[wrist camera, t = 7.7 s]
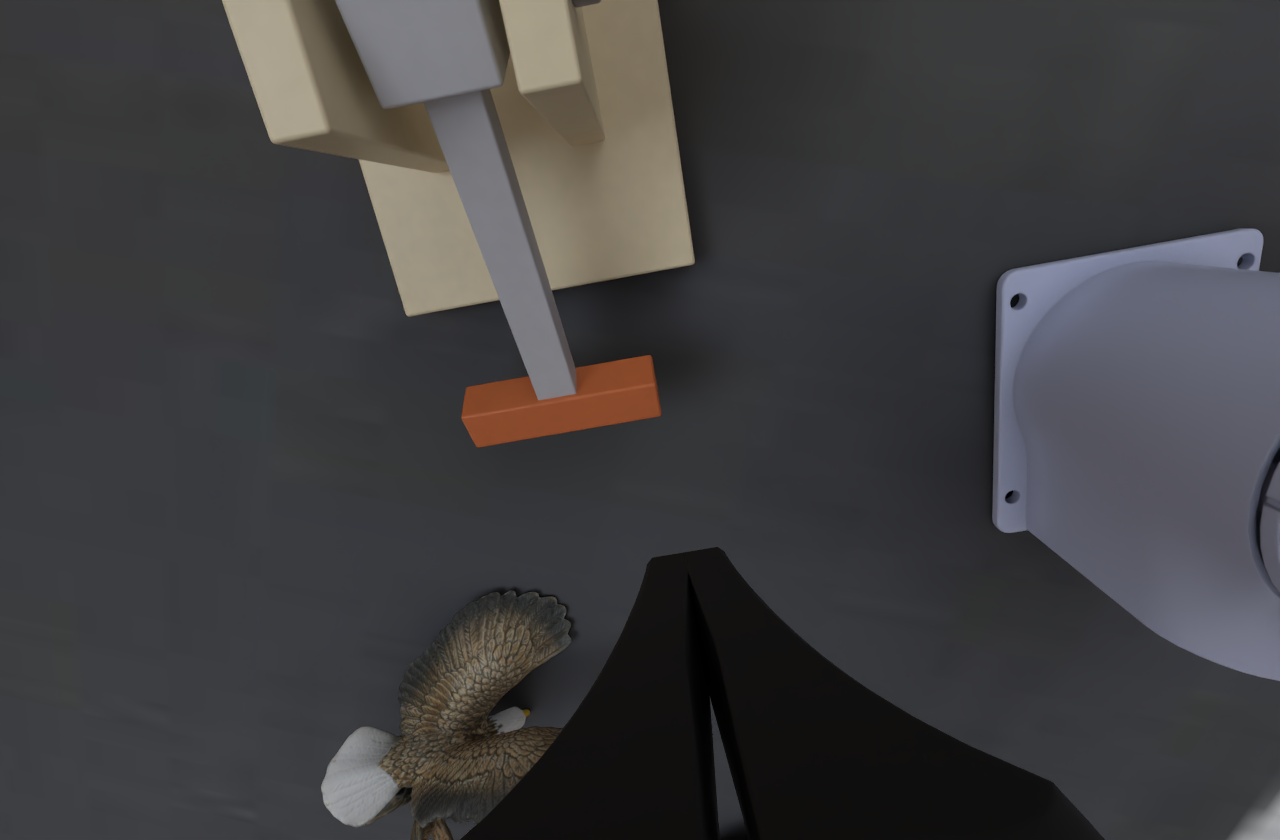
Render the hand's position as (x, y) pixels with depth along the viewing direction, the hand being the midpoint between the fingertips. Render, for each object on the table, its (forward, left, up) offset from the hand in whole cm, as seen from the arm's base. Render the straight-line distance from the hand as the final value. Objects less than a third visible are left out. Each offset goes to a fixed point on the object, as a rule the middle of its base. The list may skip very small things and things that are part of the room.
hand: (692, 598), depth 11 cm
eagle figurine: (-10, +9, -11) cm, 17 cm away
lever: (+7, +3, -6) cm, 10 cm away
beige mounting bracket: (+11, +3, -10) cm, 15 cm away
